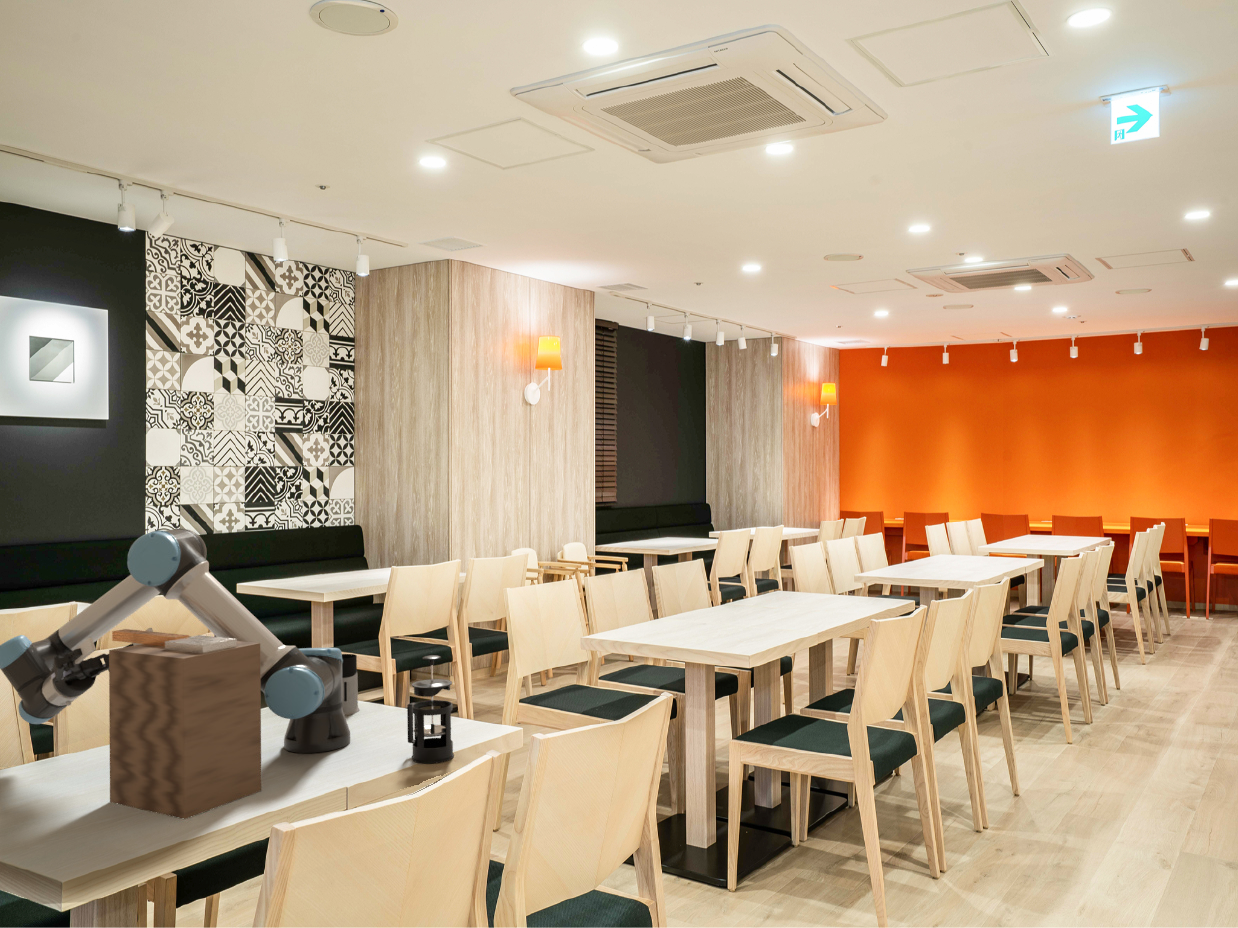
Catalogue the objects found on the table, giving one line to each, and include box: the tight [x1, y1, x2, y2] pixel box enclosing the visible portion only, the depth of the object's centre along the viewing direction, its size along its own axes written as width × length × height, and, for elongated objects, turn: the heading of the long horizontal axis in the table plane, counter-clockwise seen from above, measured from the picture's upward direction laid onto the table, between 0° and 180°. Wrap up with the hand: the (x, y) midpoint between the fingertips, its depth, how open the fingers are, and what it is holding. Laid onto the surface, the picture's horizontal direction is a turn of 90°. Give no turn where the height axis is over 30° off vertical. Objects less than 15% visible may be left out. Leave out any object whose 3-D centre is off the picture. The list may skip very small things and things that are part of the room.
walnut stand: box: [108, 635, 262, 820], centre depth 192 cm, size 22×18×30 cm
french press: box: [406, 654, 455, 765], centre depth 216 cm, size 12×9×23 cm
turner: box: [111, 628, 237, 654], centre depth 194 cm, size 31×8×2 cm, turn 62°
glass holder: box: [342, 653, 360, 716], centre depth 258 cm, size 9×14×15 cm, turn 2°
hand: (123, 638), depth 200 cm, fingers open, 13 cm apart
